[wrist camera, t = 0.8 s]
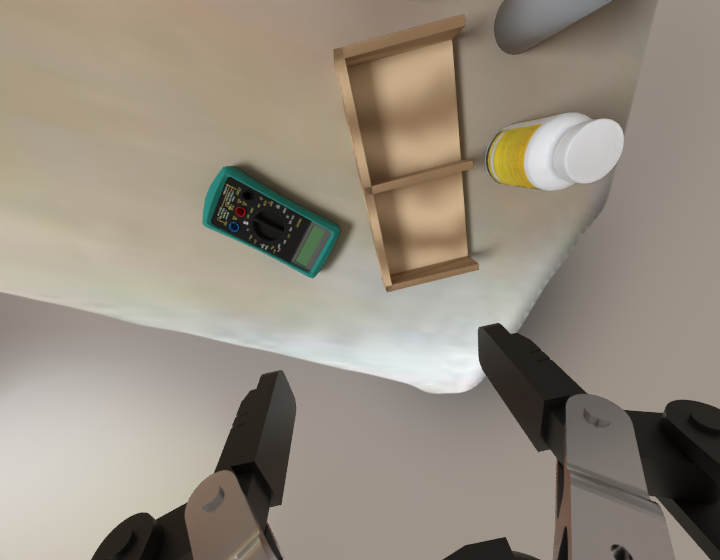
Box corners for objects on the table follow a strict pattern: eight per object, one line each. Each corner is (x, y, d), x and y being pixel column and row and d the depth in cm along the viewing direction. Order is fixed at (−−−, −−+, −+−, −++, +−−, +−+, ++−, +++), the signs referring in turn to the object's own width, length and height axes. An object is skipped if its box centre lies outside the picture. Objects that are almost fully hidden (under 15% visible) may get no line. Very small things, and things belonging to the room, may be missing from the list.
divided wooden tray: (334, 64, 27) (333, 49, 24) (447, 33, 27) (464, 13, 23) (382, 279, 37) (386, 292, 34) (465, 258, 37) (478, 269, 33)
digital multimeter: (226, 161, 30) (215, 161, 28) (342, 226, 34) (343, 232, 32) (205, 218, 33) (193, 223, 30) (316, 273, 37) (314, 282, 34)
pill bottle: (482, 188, 33) (549, 202, 23) (482, 129, 31) (558, 113, 20) (534, 178, 33) (625, 187, 23) (539, 118, 31) (646, 96, 20)
